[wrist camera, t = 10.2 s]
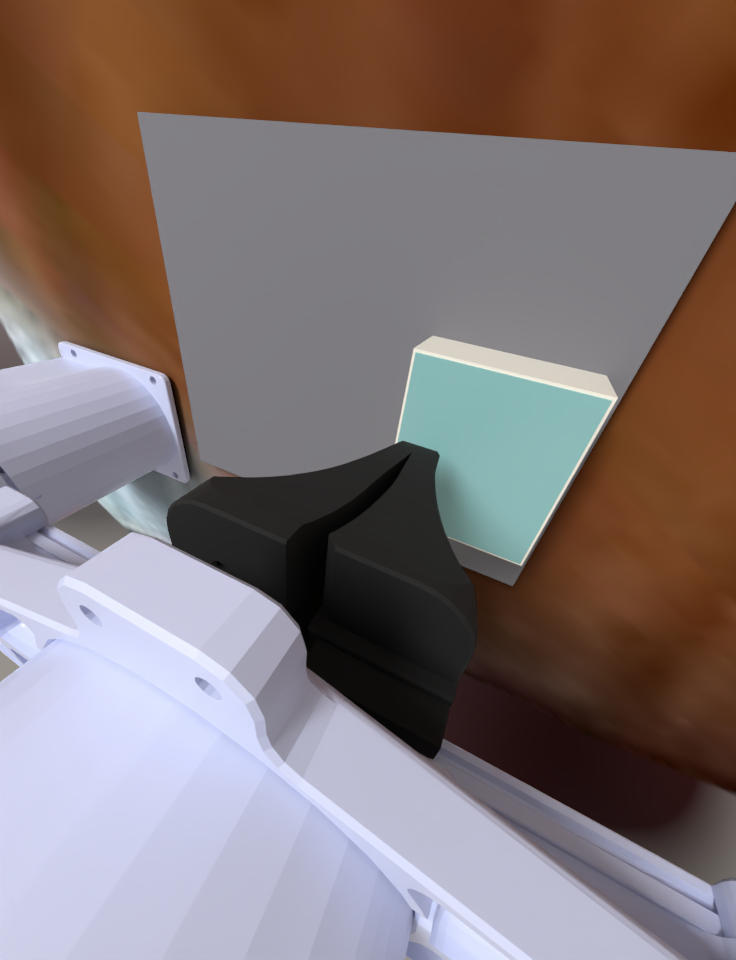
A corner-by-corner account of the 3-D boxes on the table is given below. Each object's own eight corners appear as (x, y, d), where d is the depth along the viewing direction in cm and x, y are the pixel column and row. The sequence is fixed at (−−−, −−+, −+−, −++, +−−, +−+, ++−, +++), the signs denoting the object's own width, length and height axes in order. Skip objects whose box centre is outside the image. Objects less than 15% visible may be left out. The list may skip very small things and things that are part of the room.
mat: (209, 455, 23) (200, 460, 23) (155, 118, 14) (136, 111, 13) (513, 575, 18) (512, 586, 17) (748, 161, 9) (763, 154, 8)
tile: (381, 512, 15) (521, 566, 14) (413, 348, 11) (618, 398, 10) (399, 484, 17) (524, 529, 16) (432, 335, 13) (606, 375, 11)
